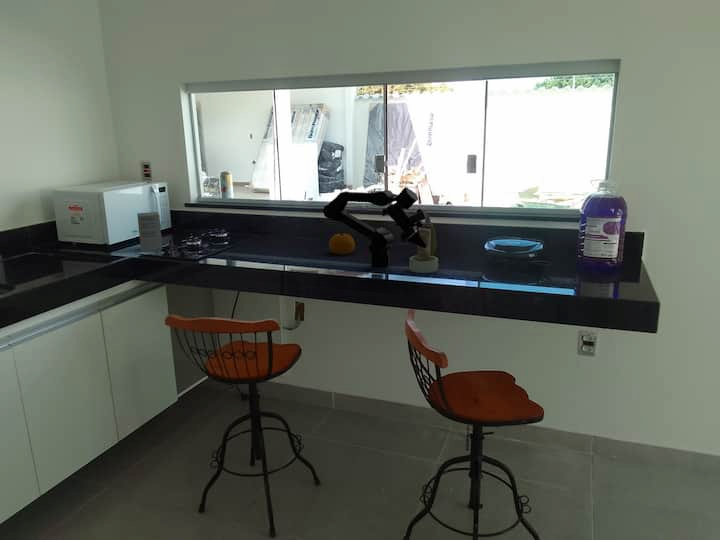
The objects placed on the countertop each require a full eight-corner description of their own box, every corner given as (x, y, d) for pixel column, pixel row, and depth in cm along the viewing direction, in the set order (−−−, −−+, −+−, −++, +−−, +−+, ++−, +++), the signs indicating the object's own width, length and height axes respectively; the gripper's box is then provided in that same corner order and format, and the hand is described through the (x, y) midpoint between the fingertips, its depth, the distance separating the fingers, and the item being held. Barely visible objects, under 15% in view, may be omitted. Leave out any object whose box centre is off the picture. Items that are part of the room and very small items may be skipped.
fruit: (356, 250, 254) (356, 228, 252) (353, 256, 243) (353, 233, 241) (331, 250, 255) (330, 228, 253) (327, 255, 244) (326, 233, 242)
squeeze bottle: (415, 255, 242) (415, 215, 238) (421, 252, 249) (422, 212, 245) (432, 257, 239) (433, 216, 234) (438, 253, 246) (440, 213, 241)
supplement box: (140, 248, 264) (136, 213, 260) (161, 246, 268) (157, 211, 263) (142, 252, 255) (138, 215, 251) (163, 250, 259) (159, 214, 255)
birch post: (416, 263, 216) (417, 230, 213) (417, 260, 221) (418, 228, 218) (429, 264, 216) (430, 231, 212) (430, 261, 220) (431, 228, 217)
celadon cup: (408, 272, 215) (408, 261, 214) (410, 265, 225) (410, 254, 224) (437, 273, 213) (437, 262, 212) (438, 266, 223) (438, 255, 222)
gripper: (409, 206, 205) (438, 237, 205) (419, 199, 222) (446, 228, 222) (388, 226, 209) (416, 256, 209) (400, 218, 227) (426, 246, 226)
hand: (427, 246), depth 216 cm, fingers closed on birch post, 5 cm apart
